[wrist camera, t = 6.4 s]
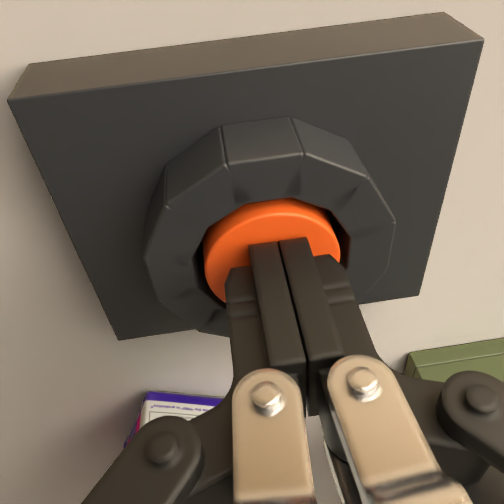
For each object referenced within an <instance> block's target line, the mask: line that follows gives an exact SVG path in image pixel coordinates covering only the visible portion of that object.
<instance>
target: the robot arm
mask: <svg viewBox="0 0 504 504" xmlns="http://www.w3.org/2000/svg"><path fill="white" fill-rule="evenodd" d="M248 249H249V258H250V265H249V266H243V267H236V268H231V269H230V271H229V274H228V276H227V279H226V281H225V283H224V288H225V298H226V307H227V316H228V325H229V335H230V344H231V353H232V362H233V382H232V385H231V388H230V390H229V392H228V394H227V395H226V396H225V398H224V399H223V400H222V401H221V402H220V403H219V404H218V405H216V406H215V407H214V408H212V409H210V410H208V411H206V412H204V413H202V414H200V415H198V416H196V417H195V418H193V419H191V420H189V421H188V420H186V419H184V418H182V417H178V416H171V415H168V416H162V417H158V418H155V419H153V420H151V421H149V422H148V423H146V424H145V425H144V426H142V427H141V428H140V429H139V430H138V431H137V433H136V434H135V435H134V436H133V438H132V439H131V440H130V442H129V443H128V444H127V445H126V447H125V448H124V449H123V451H122V452H121V453H120V454H119V456H118V457H117V458H116V459H115V461H114V462H113V463H112V465H111V466H110V467H109V468H108V470H107V471H106V472H105V474H104V475H103V476H102V477H101V479H100V480H99V481H98V483H97V484H96V485H95V486H94V488H93V489H92V490H91V492H90V493H89V494H88V495H87V497H86V498H85V499H84V501H83V502H82V503H81V504H317V501H316V497H315V491H314V484H313V477H312V469H311V462H310V455H309V448H308V441H307V434H306V426H305V417H306V407H307V412H308V416H316V415H319V416H320V420H321V424H322V428H323V432H324V440H323V443H324V450H325V453H326V456H327V459H328V463H329V466H330V469H331V472H332V475H333V478H334V481H335V484H336V488H337V491H338V494H339V497H340V500H341V503H342V504H504V382H502V381H500V380H498V379H497V378H495V377H493V376H491V375H489V374H486V373H483V372H479V371H471V370H470V371H461V372H458V373H455V374H453V375H452V376H450V377H449V378H448V379H447V380H446V381H445V382H439V381H432V380H425V379H419V378H413V377H408V376H406V375H403V374H400V373H398V372H396V371H395V370H393V369H391V368H390V367H389V366H387V365H386V364H385V363H384V362H383V361H382V360H381V358H380V357H379V356H378V354H377V352H376V350H375V348H374V345H373V343H372V340H371V337H370V335H369V332H368V330H367V327H366V324H365V322H364V319H363V317H362V314H361V311H360V309H359V306H358V304H357V301H356V300H355V296H354V293H353V291H352V288H351V287H350V283H349V280H348V278H347V275H346V272H345V270H344V267H343V266H342V265H341V264H340V263H339V262H338V261H337V260H336V259H335V258H334V257H333V256H331V255H330V254H325V255H318V256H313V254H312V251H311V247H310V244H309V241H308V239H307V237H300V238H293V239H286V240H279V241H278V245H277V242H276V241H273V242H266V243H259V244H252V245H248Z"/></svg>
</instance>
